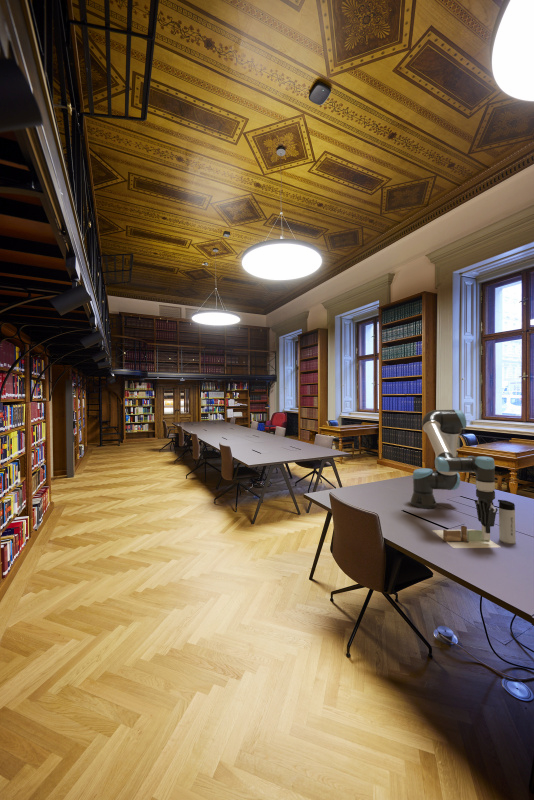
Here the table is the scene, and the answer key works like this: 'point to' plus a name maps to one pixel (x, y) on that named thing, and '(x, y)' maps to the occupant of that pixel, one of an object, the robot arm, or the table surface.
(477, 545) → the card
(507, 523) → the travel mug
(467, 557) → the table surface
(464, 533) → the fence fixed
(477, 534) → the hinged rail
